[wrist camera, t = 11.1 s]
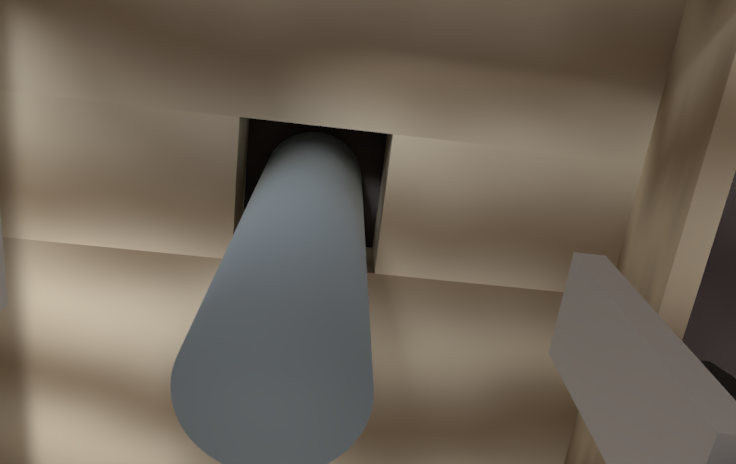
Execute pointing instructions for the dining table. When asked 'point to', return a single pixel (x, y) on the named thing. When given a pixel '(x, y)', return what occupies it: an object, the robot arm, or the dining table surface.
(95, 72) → the box
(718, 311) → the dining table surface
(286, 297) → the peg
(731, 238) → the dining table surface
